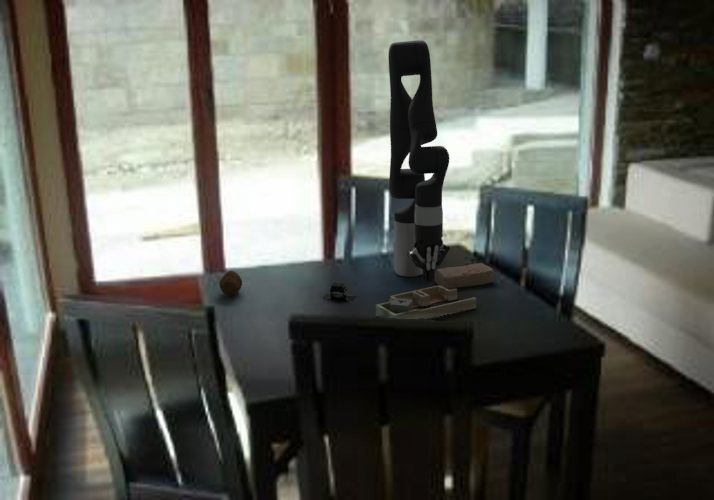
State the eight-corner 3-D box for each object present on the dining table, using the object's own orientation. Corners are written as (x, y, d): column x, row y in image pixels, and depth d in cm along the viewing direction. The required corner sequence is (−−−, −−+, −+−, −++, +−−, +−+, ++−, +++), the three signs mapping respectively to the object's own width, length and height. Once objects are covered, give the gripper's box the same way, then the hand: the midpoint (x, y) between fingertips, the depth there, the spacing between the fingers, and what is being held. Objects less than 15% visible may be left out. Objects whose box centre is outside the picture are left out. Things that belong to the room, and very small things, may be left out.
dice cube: (412, 317, 224) (412, 299, 223) (408, 323, 220) (407, 306, 219) (395, 315, 226) (395, 298, 225) (390, 321, 221) (389, 304, 220)
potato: (219, 301, 239) (218, 279, 237) (220, 289, 250) (218, 267, 248) (243, 300, 240) (241, 277, 238) (242, 287, 251) (241, 265, 249)
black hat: (362, 296, 242) (362, 282, 241) (355, 305, 236) (355, 290, 234) (322, 294, 245) (321, 279, 244) (314, 302, 239) (313, 287, 237)
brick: (443, 290, 245) (443, 275, 244) (433, 282, 253) (433, 267, 251) (494, 284, 250) (495, 269, 248) (483, 276, 257) (483, 261, 256)
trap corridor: (366, 311, 229) (366, 299, 228) (445, 293, 242) (445, 282, 241) (394, 327, 217) (394, 315, 216) (476, 308, 230) (476, 296, 229)
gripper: (440, 213, 226) (440, 273, 232) (400, 221, 220) (400, 282, 225) (457, 219, 220) (456, 280, 225) (415, 228, 214) (416, 290, 219)
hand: (428, 281), depth 225 cm, fingers closed
